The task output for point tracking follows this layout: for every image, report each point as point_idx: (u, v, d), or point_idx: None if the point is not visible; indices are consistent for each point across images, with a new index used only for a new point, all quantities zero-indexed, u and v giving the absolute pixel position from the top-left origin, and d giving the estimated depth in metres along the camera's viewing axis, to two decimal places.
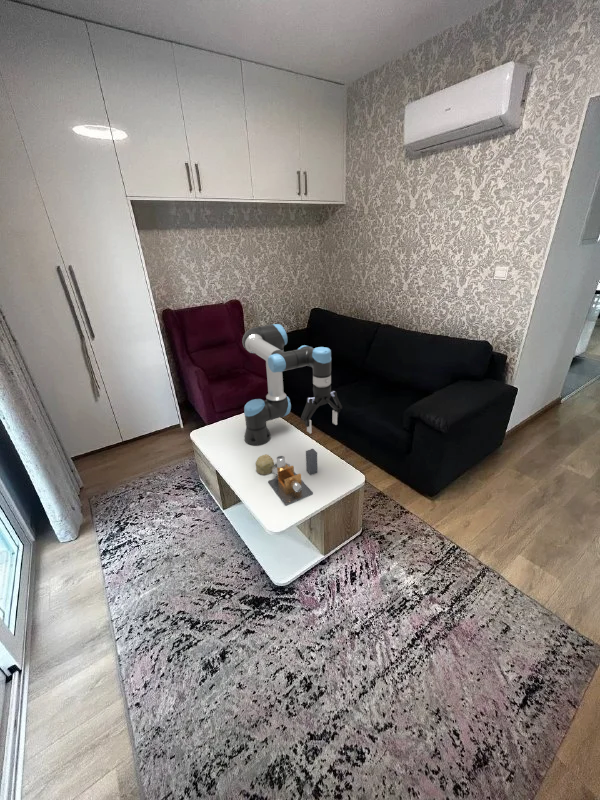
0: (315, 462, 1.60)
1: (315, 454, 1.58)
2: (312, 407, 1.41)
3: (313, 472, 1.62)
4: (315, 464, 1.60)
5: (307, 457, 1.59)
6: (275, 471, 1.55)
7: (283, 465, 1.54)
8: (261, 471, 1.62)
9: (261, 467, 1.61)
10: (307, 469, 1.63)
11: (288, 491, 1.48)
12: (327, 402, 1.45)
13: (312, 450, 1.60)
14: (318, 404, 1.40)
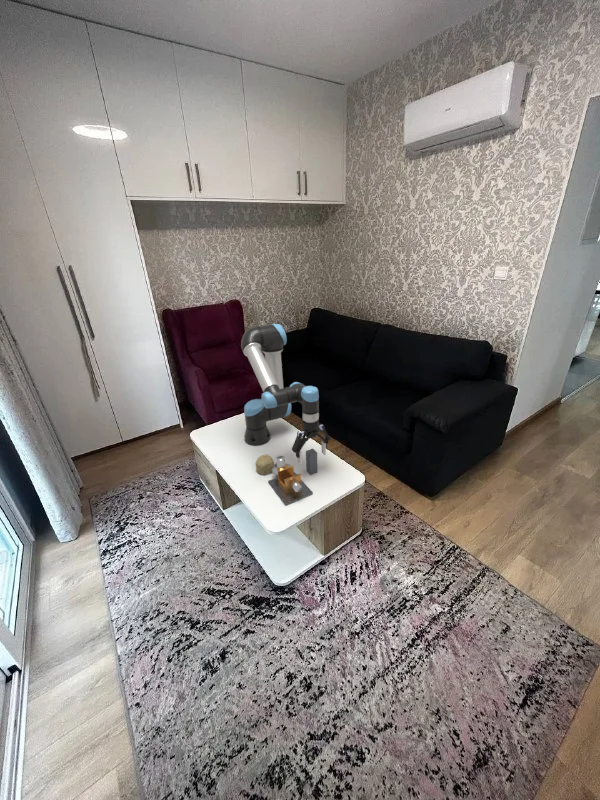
0: (315, 462, 1.60)
1: (315, 454, 1.58)
2: (302, 440, 1.53)
3: (313, 472, 1.62)
4: (315, 464, 1.60)
5: (307, 457, 1.59)
6: (275, 471, 1.55)
7: (283, 465, 1.54)
8: (261, 471, 1.62)
9: (261, 467, 1.61)
10: (307, 469, 1.63)
11: (288, 491, 1.48)
12: None
13: (312, 450, 1.60)
14: (307, 437, 1.52)
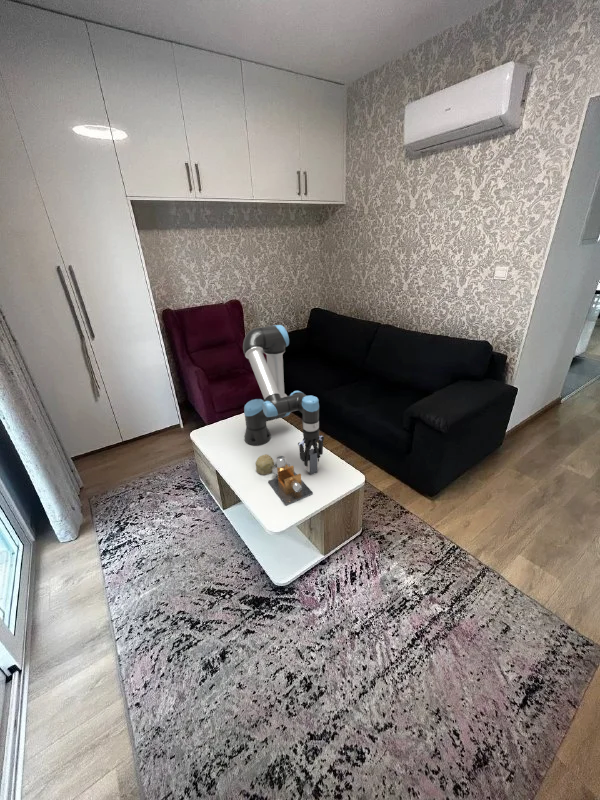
0: (315, 462, 1.60)
1: (315, 454, 1.58)
2: (306, 449, 1.57)
3: (313, 472, 1.62)
4: (315, 464, 1.60)
5: None
6: (275, 471, 1.55)
7: (283, 465, 1.54)
8: (261, 471, 1.62)
9: (261, 467, 1.61)
10: None
11: (288, 491, 1.48)
12: (313, 445, 1.59)
13: (312, 450, 1.60)
14: (309, 446, 1.55)
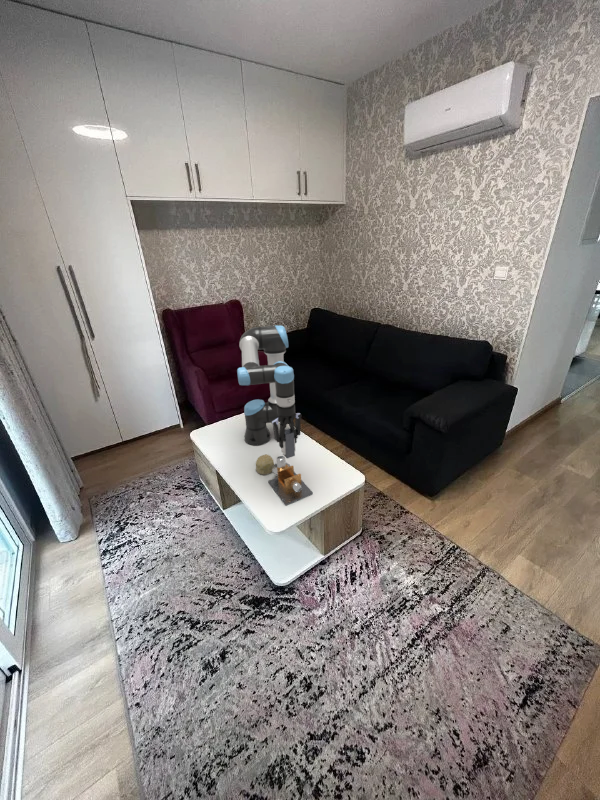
0: (292, 443, 1.41)
1: (291, 434, 1.39)
2: (280, 428, 1.38)
3: (290, 455, 1.43)
4: (292, 446, 1.42)
5: None
6: (275, 471, 1.55)
7: (283, 465, 1.54)
8: (261, 471, 1.62)
9: (261, 467, 1.61)
10: None
11: (288, 491, 1.48)
12: (289, 424, 1.40)
13: (288, 430, 1.41)
14: (284, 425, 1.36)
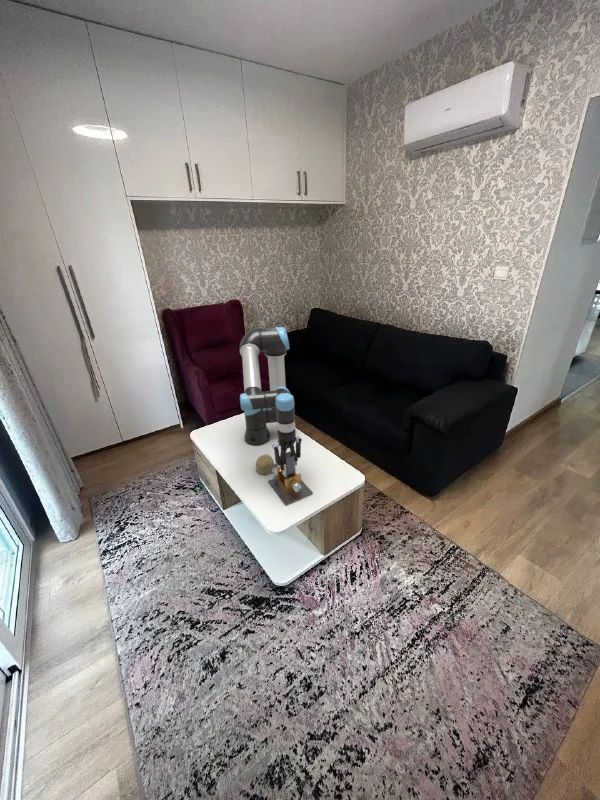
0: (292, 466, 1.46)
1: (292, 457, 1.44)
2: (281, 452, 1.43)
3: None
4: (292, 468, 1.47)
5: None
6: (275, 471, 1.55)
7: None
8: (261, 471, 1.62)
9: (261, 467, 1.61)
10: None
11: (288, 491, 1.48)
12: (289, 447, 1.45)
13: (289, 453, 1.46)
14: (285, 449, 1.41)
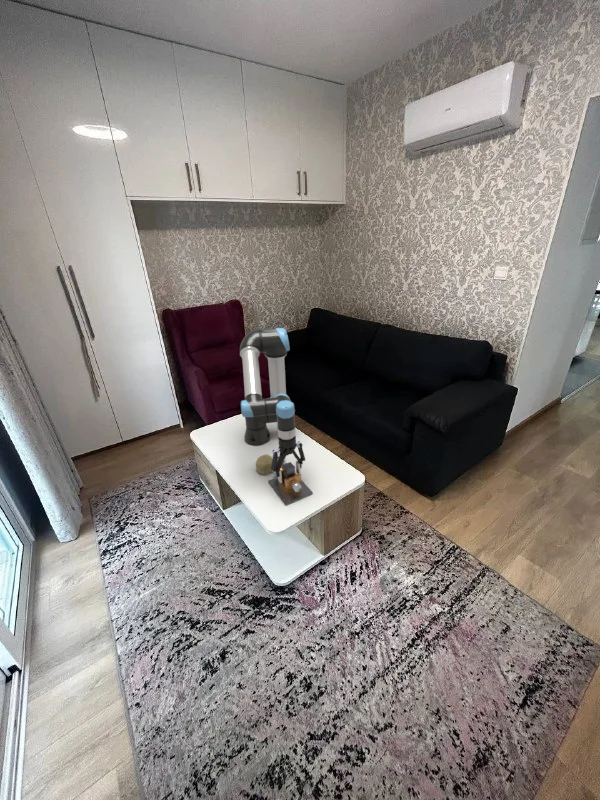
0: None
1: (292, 468, 1.47)
2: (280, 458, 1.44)
3: None
4: None
5: (284, 471, 1.49)
6: (275, 471, 1.55)
7: None
8: (261, 471, 1.62)
9: (261, 467, 1.61)
10: None
11: (288, 491, 1.48)
12: (292, 452, 1.47)
13: (290, 464, 1.49)
14: (284, 455, 1.42)
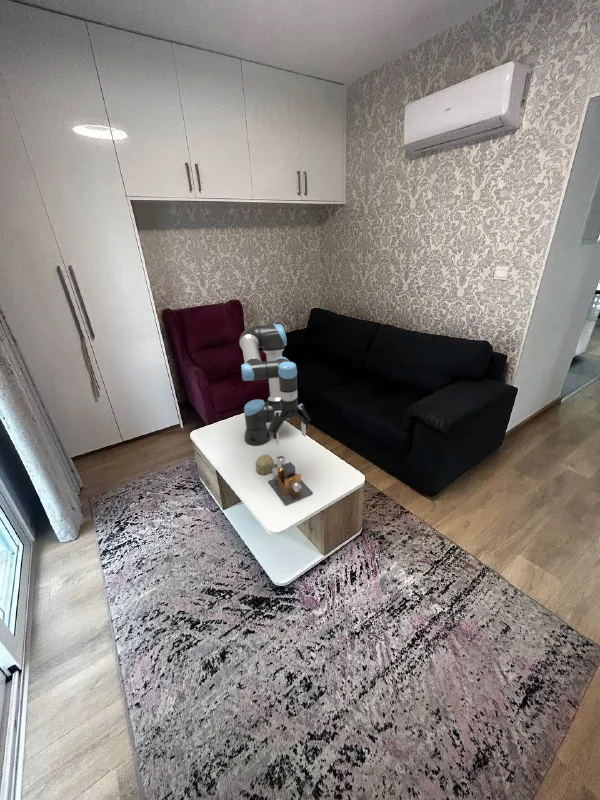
0: None
1: (292, 468, 1.47)
2: (279, 420, 1.43)
3: None
4: None
5: (284, 471, 1.49)
6: (275, 471, 1.55)
7: None
8: (261, 471, 1.62)
9: (261, 467, 1.61)
10: None
11: (288, 491, 1.48)
12: None
13: (290, 464, 1.49)
14: (285, 417, 1.41)
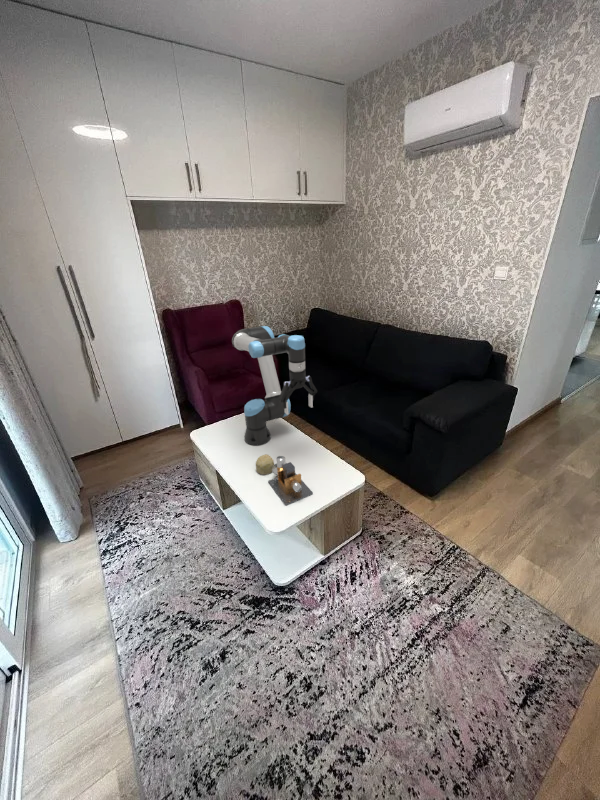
0: None
1: (292, 468, 1.47)
2: (288, 390, 1.55)
3: None
4: None
5: (284, 471, 1.49)
6: (275, 471, 1.55)
7: None
8: (261, 471, 1.62)
9: (261, 467, 1.61)
10: None
11: (288, 491, 1.48)
12: (303, 386, 1.59)
13: (290, 464, 1.49)
14: (294, 387, 1.54)
